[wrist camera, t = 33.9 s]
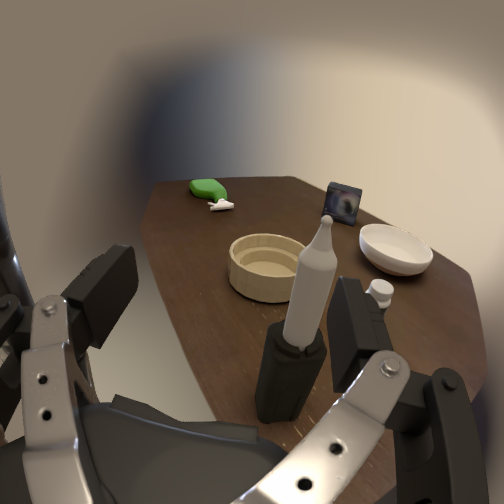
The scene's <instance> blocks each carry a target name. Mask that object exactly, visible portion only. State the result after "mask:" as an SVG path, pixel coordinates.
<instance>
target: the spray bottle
mask: <svg viewBox="0 0 504 504" xmlns="http://www.w3.org/2000/svg"><path fill="white" fill-rule="evenodd" d="M189 187H190V189H191V191H192V193H193V194H194V195H195V196H197V197H199V198H204V199H214V201H215V203H216V204H214V203H210V202H208V204H210V205H212V206H213V207H210V210H222V209H230V208H234V204H233V203H229V202H227V193H226V191H225V189H224V188H223V186H222V185H221V184H219V183H218V182H217V181H216V180H214V179H201V180H192V181H191V182H190V184H189Z"/></svg>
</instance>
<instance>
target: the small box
mask: <svg viewBox="0 0 504 504" xmlns="http://www.w3.org/2000/svg"><path fill="white" fill-rule="evenodd" d="M361 195H362V190H361V189H358V188H354V187H350V186H347V185H343V184H339V183H335V182H330V183H329V185H328V188H327V193H326V198H325V203H324V208H323V213H322V217H324V216H325V215H329V216H330V217H331V218H332V220H333V221H337V222H340V223H344V224H347V225H351V226H354V223H355V220H356V216H357V212H358V208H359V204H360V199H361Z"/></svg>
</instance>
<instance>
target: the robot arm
mask: <svg viewBox="0 0 504 504" xmlns="http://www.w3.org/2000/svg"><path fill="white" fill-rule="evenodd" d="M138 281H139V280H138V273H137V266H136V260H135V253H134V249H133V247H132V246H125V245H119V244H115V245H113V246H112V247H111V248H110V249H109V250H108V251H107V252H106V253H105V254H102V255H100V256H99V257H97V258H95V259H93V260H92V261H91V262H90V263H89V264H88V265H87V266H86V268H85V269H84V270H83V271H82V272H81V273H80V275H78V276H77V277H76V278H75V279H74V280H73V281H72V282H71V283H70V285H69V286H68V287H67V288H66V289H65V290H64V291H63V292H62V294H61V295H60V296H59V295H49V296H46V297H44V298H42V299H41V300H39V301H38V302H37V303H36V304H34V301H33V299H32V296H31V294H30V291H29V289H28V286H27V283H26V281H25V278H24V275H23V273H22V270H21V267H20V264H19V261H18V257H17V255H16V251H15V248H14V245H13V241H12V238H11V234H10V230H9V226H8V222H7V217H6V210H5V203H4V197H3V192H2V185H1V177H0V348H2V349H3V351H4V352H5V353H6V354H7V355H8V356H7V358H6V360H5V361H4V363H3V364H2V366H1V367H0V504H332V503H333V502H334V501H335V499H336V498H337V497H338V496H339V495H340V493H341V492H342V491H343V490H344V488H345V487H346V486H347V485H348V483H349V482H350V481H351V479H352V478H353V477H354V475H355V474H356V473H357V471H358V470H359V469H360V467H361V466H362V464H363V463H364V462H365V460H366V459H367V457H368V456H369V454H370V453H371V451H372V450H373V448H374V447H375V445H376V444H377V442H378V440H379V439H380V437H381V436H382V434H383V432H384V430H385V428H388V429H391V430H393V435H394V446H395V460H396V480H397V504H489V496H488V485H487V478H486V471H485V465H484V459H483V453H482V448H481V443H480V439H479V434H478V430H477V426H476V422H475V418H474V414H473V410H472V407H471V403H470V400H469V397H468V393H467V390H466V387H465V384H464V381H463V379H462V378H461V376H460V375H459V374H458V373H457V372H455V371H454V370H452V369H450V368H439V369H437V370H436V371H435V372H434V373H433V375H432V376H428V375H424V374H420V373H417V372H414V371H411V370H410V368H409V365H408V363H407V361H406V360H405V359H404V358H403V357H402V356H401V355H399V354H397V353H395V352H394V351H393V347H392V344H391V341H390V338H389V334H388V331H387V328H386V325H385V323H384V319H383V316H382V315H381V310H380V307H379V304H378V302H377V301H376V300H375V299H374V297H373V296H372V295H371V294H370V293H364V292H363V288H362V285H361V282H360V280H359V279H357V278H349V277H341V276H340V277H339V278H338V280H337V283H336V286H335V289H334V292H333V295H332V299H331V302H330V305H329V308H328V312H327V330H328V338H329V347H330V357H331V367H332V378H333V390H334V393H344V395H343V396H342V397H340V398H339V399H338V400H337V401H336V402H335V404H334V405H333V406H332V407H331V408H330V410H329V411H328V412H327V413H326V414H325V415H324V417H323V418H322V419H321V420H320V421H319V422H318V423H317V424H316V426H315V427H314V428H313V429H312V430H311V431H310V432H309V433H308V434H307V435H306V437H305V438H304V439H303V440H302V441H301V442H300V443H299V444H298V445H297V446H296V447H295V448H294V449H293V450H292V451H291V452H290V453H289V454H288V453H287V452H286V451H285V450H284V449H282V448H281V447H280V446H278V445H276V444H275V443H273V442H271V441H269V440H267V439H265V438H263V437H260V436H257V433H258V427H257V426H249V425H241V424H235V423H228V422H222V421H212V422H181V421H178V420H175V419H173V418H172V417H170V416H168V415H166V414H164V413H162V412H160V411H158V410H157V409H155V408H153V407H151V406H149V405H148V404H145V403H142V402H138V401H135V400H132V399H129V398H126V397H123V396H120V395H117V394H115V397H114V398H113V401H112V403H111V402H106V403H103V402H102V403H100V402H99V400H98V397H97V395H96V391H95V387H94V382H93V378H92V373H91V368H90V363H89V357H88V353H87V351H86V350H87V348H88V347H89V346H92V347H95V348H98V349H101V347H102V345H103V343H104V342H105V340H106V338H107V337H108V335H109V334H110V332H111V330H112V329H113V327H114V326H115V324H116V323H117V321H118V319H119V318H120V316H121V315H122V313H123V312H124V310H125V308H126V307H127V305H128V304H129V302H130V301H131V299H132V298H133V296H134V295H135V293H136V291H137V288H138ZM21 398H22V414H23V424H24V433H25V436H22V437H20V438H18V439H16V440H14V441H12V442H10V443H8V442H7V440H6V439H4V438H5V437H4V432H5V430H6V428H7V426H8V424H9V421H10V420H11V418H12V415H13V413H14V411H15V409H16V407H17V405H18V403H19V401H20V399H21Z"/></svg>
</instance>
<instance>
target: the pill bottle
mask: <svg viewBox="0 0 504 504" xmlns="http://www.w3.org/2000/svg"><path fill="white" fill-rule="evenodd" d="M393 292H394V288H393V286H392V285H391V284H390V283H389V282H387V281H385V280H381V279H375V280H373V281H372V282H371V285H370V288H369V289H368V290H367V291H366V292H365V293H370V294H371V295H372V296H373V297H374V299H375V300H376V301H377V302H378V304H379V307H380V310H381V315H382V316H383V318H384V316H385V314H386V312H387V310H388V308H389V306H390V303H391V299H390V298H391V297H392V294H393Z"/></svg>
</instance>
